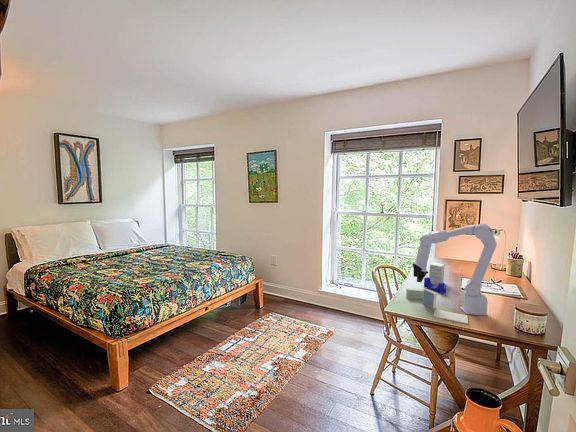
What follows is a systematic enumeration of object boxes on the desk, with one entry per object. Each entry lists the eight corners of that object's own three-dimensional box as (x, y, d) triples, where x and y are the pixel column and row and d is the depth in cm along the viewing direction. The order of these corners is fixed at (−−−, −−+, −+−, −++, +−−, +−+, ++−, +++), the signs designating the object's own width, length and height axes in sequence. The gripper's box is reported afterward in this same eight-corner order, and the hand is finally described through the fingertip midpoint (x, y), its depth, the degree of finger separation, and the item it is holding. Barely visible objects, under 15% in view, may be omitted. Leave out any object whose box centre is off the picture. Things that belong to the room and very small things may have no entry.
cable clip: (445, 292, 172) (446, 282, 171) (440, 293, 170) (440, 283, 169) (429, 286, 183) (429, 276, 182) (423, 286, 181) (424, 277, 180)
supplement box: (431, 280, 193) (432, 261, 191) (443, 283, 188) (445, 264, 187) (428, 283, 187) (429, 264, 186) (440, 286, 182) (442, 266, 181)
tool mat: (467, 316, 140) (467, 315, 140) (467, 324, 132) (468, 323, 132) (434, 309, 147) (434, 309, 147) (433, 316, 139) (433, 315, 139)
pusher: (424, 297, 163) (425, 289, 163) (426, 300, 160) (427, 291, 160) (406, 296, 165) (406, 287, 164) (407, 298, 162) (407, 289, 161)
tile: (425, 303, 156) (426, 288, 155) (435, 308, 149) (436, 293, 148) (422, 303, 155) (423, 289, 154) (433, 308, 148) (434, 293, 148)
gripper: (412, 250, 165) (406, 272, 168) (418, 258, 151) (412, 282, 154) (425, 252, 164) (419, 275, 167) (432, 261, 150) (426, 285, 153)
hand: (417, 279), depth 160 cm, fingers open, 7 cm apart
